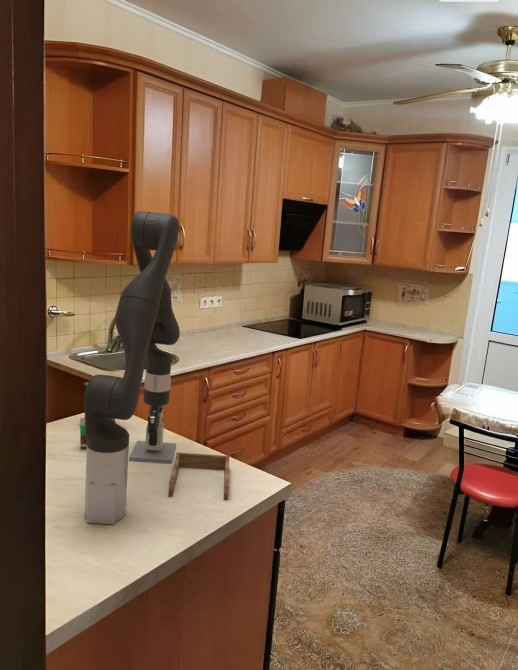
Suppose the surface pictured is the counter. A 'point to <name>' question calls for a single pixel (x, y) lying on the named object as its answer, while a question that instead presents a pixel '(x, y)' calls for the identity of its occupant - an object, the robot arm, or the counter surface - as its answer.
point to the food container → (82, 434)
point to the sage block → (159, 438)
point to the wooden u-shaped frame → (200, 467)
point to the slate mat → (153, 453)
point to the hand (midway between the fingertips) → (154, 441)
